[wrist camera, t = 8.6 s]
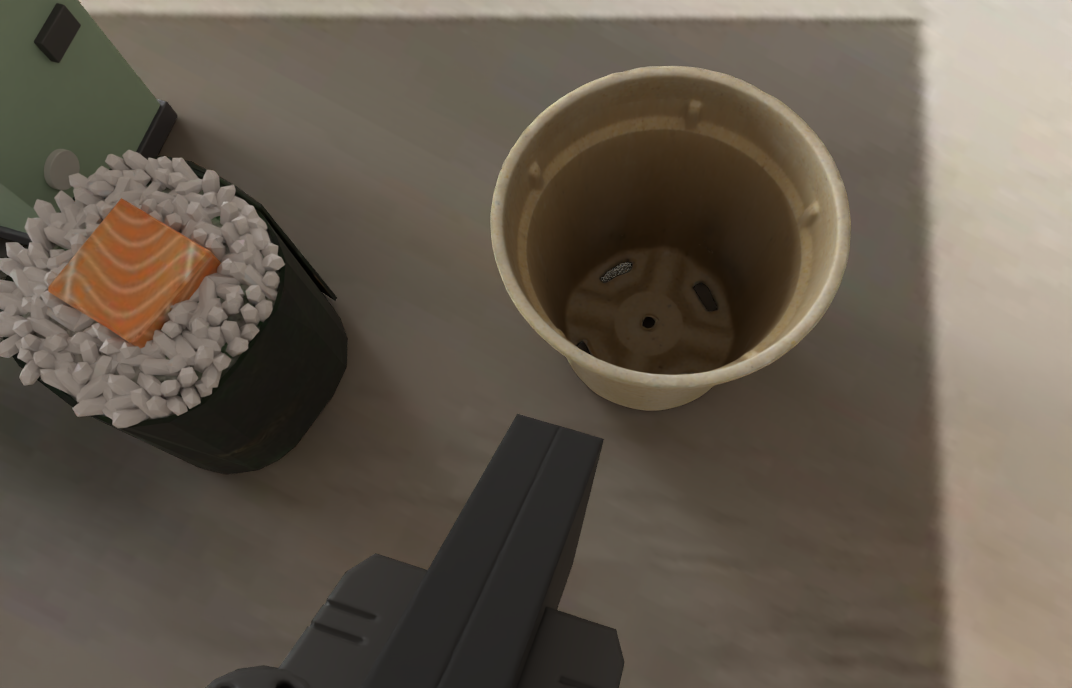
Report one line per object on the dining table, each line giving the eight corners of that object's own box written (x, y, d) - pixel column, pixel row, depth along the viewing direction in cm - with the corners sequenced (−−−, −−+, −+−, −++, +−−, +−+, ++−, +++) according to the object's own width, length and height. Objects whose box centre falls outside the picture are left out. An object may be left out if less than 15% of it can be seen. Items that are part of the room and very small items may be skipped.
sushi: (214, 221, 34) (105, 97, 26) (388, 325, 32) (323, 223, 24) (75, 393, 32) (-87, 312, 24) (251, 515, 30) (135, 468, 22)
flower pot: (837, 306, 31) (923, 182, 23) (680, 517, 29) (712, 462, 21) (624, 167, 33) (632, 10, 25) (465, 352, 31) (418, 245, 23)
